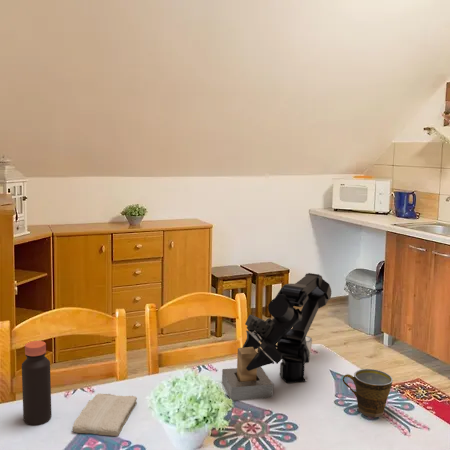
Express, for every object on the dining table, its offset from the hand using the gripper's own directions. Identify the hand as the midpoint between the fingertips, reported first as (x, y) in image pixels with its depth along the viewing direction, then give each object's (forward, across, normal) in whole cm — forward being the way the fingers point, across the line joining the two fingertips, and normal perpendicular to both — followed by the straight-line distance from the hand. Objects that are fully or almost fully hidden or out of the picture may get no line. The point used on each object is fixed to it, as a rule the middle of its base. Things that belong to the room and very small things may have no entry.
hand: (243, 362), depth 150 cm
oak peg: (+5, 0, +7) cm, 8 cm away
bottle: (+45, +7, -33) cm, 57 cm away
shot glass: (-12, -19, +24) cm, 33 cm away
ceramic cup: (-15, +17, +27) cm, 36 cm away
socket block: (+5, 0, +7) cm, 8 cm away
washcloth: (+34, +9, -21) cm, 40 cm away
